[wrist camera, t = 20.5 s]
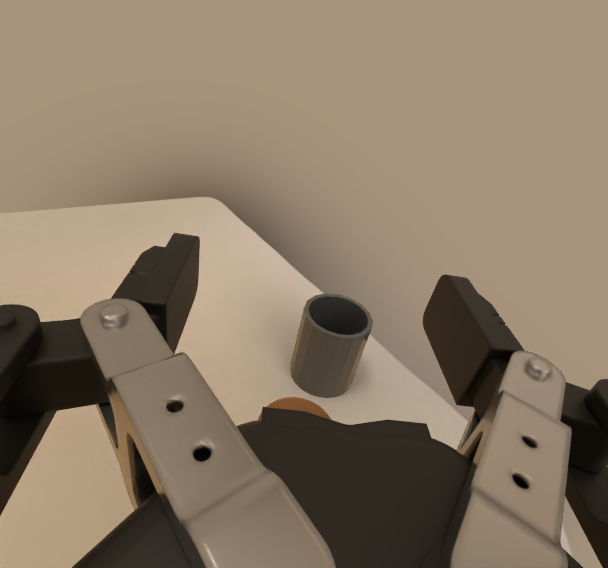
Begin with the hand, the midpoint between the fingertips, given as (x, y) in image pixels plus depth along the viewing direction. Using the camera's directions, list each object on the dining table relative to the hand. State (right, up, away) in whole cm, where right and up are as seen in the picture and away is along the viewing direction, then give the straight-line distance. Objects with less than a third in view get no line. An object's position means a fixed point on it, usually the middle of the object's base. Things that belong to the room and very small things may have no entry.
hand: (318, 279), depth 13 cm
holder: (+2, -11, +33) cm, 35 cm away
